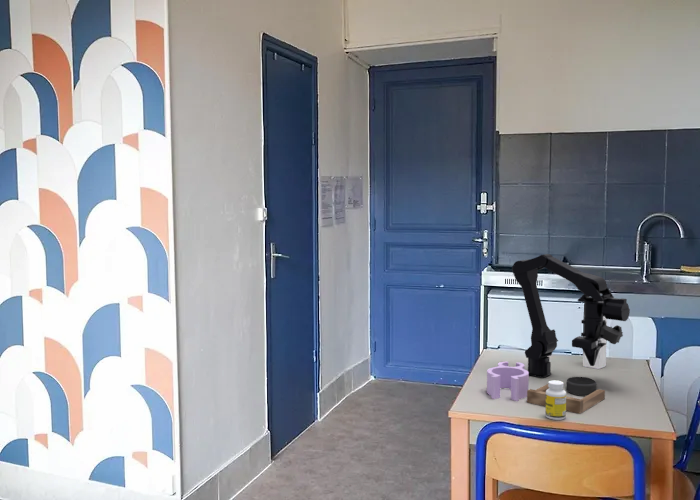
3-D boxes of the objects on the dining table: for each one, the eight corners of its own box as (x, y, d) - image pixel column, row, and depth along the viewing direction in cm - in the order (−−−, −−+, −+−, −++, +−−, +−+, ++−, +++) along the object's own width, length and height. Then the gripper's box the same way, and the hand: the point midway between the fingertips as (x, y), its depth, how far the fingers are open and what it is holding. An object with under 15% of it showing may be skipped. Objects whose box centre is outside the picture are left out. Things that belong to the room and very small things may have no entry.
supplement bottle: (542, 414, 187) (542, 379, 186) (561, 413, 188) (561, 379, 187) (549, 420, 182) (550, 385, 181) (569, 420, 182) (569, 384, 181)
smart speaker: (597, 398, 202) (598, 384, 202) (566, 395, 204) (566, 382, 204) (595, 389, 211) (595, 377, 210) (565, 387, 213) (565, 375, 213)
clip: (492, 381, 221) (492, 360, 221) (531, 384, 217) (532, 363, 216) (483, 398, 202) (483, 376, 202) (526, 402, 198) (526, 379, 198)
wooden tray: (527, 402, 198) (527, 390, 198) (553, 388, 211) (554, 377, 211) (580, 413, 187) (580, 401, 187) (604, 398, 201) (605, 387, 200)
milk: (599, 369, 234) (600, 306, 232) (582, 366, 238) (583, 304, 236) (606, 365, 238) (607, 304, 236) (589, 363, 242) (590, 302, 240)
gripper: (607, 324, 200) (606, 376, 201) (630, 315, 214) (628, 364, 215) (571, 320, 207) (570, 369, 208) (595, 311, 221) (594, 358, 222)
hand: (592, 365), depth 213 cm, fingers closed
